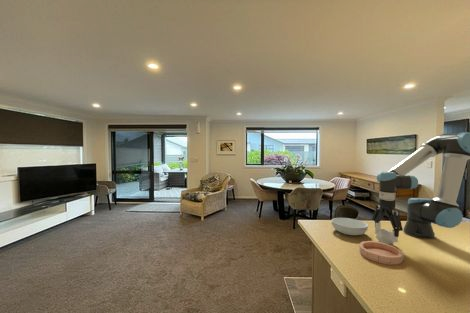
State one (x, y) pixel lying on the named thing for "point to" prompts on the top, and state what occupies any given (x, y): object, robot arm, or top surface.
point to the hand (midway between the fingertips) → (385, 237)
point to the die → (385, 236)
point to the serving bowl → (349, 226)
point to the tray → (381, 252)
